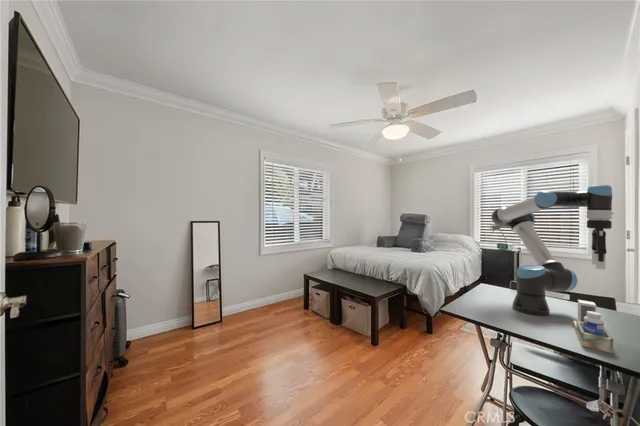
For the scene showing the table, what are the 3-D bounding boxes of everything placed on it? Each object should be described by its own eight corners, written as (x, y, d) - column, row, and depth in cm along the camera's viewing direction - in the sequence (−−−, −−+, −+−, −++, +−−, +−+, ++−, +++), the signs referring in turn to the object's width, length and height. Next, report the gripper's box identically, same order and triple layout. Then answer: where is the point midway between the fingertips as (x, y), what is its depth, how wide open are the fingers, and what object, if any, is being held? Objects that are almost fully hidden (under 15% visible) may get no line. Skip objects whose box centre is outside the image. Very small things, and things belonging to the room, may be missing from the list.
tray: (581, 345, 98) (582, 332, 98) (572, 324, 117) (572, 313, 117) (613, 353, 93) (613, 339, 93) (598, 329, 112) (598, 318, 112)
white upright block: (579, 325, 112) (579, 302, 112) (577, 321, 116) (577, 299, 116) (596, 328, 108) (596, 305, 109) (593, 324, 113) (593, 302, 113)
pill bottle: (579, 334, 103) (579, 310, 103) (591, 333, 104) (591, 310, 104) (595, 340, 98) (595, 315, 98) (607, 340, 98) (607, 315, 98)
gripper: (617, 220, 103) (616, 272, 103) (606, 219, 121) (606, 264, 121) (590, 219, 108) (589, 269, 108) (584, 219, 126) (583, 261, 126)
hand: (598, 266), depth 114 cm, fingers open, 13 cm apart
